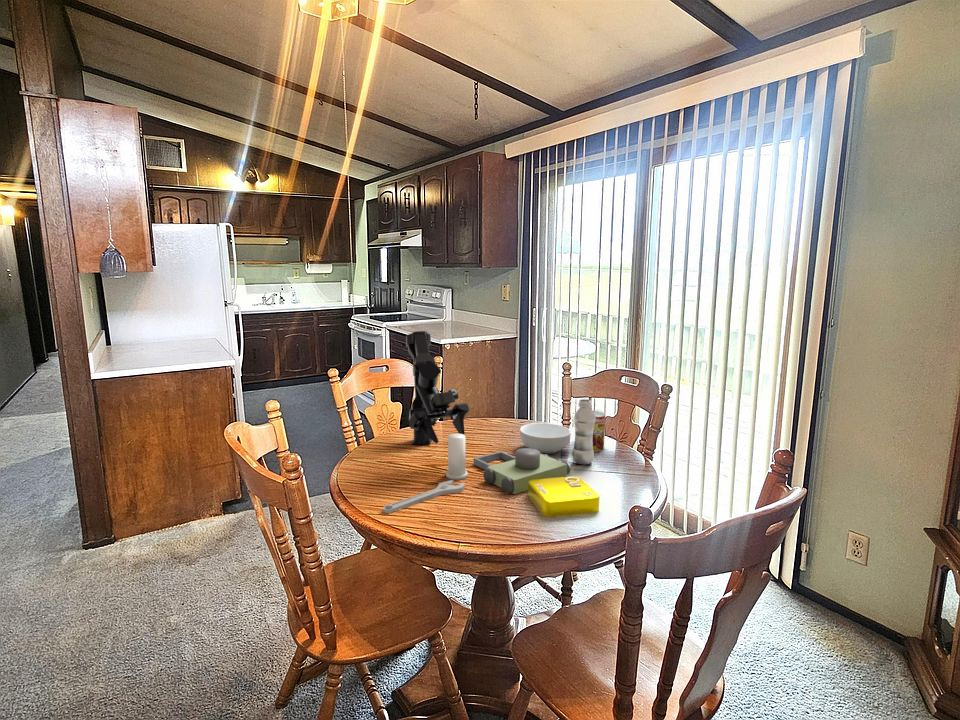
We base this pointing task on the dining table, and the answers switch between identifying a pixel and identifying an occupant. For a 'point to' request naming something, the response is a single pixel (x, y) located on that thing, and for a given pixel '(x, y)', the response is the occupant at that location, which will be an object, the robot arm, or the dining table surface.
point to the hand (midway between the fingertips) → (450, 439)
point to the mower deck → (520, 469)
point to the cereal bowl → (545, 437)
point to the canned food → (599, 431)
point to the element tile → (563, 496)
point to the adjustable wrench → (426, 496)
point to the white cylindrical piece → (456, 457)
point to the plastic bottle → (584, 433)
